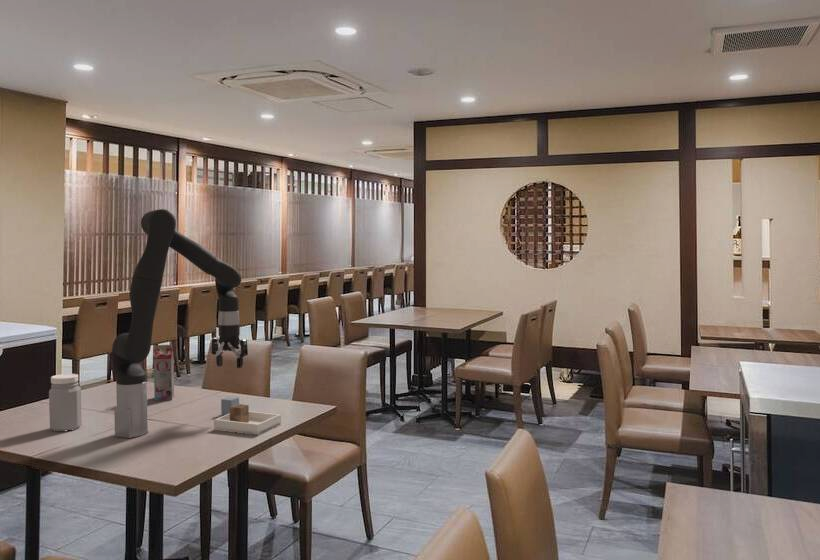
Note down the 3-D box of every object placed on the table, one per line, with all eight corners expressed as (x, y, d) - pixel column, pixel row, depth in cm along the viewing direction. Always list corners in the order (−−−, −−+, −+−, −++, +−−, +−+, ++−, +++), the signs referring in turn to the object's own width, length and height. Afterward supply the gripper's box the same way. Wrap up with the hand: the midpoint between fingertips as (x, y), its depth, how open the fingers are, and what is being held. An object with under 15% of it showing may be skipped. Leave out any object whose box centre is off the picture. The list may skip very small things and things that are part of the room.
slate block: (231, 416, 232) (231, 400, 232) (221, 415, 234) (221, 399, 233) (239, 413, 236) (238, 397, 236) (229, 412, 238) (228, 396, 237)
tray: (258, 435, 209) (258, 424, 208) (214, 429, 215) (213, 419, 215) (280, 424, 221) (280, 414, 221) (238, 419, 227) (238, 410, 227)
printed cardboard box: (172, 400, 257) (171, 345, 256) (154, 401, 255) (153, 346, 254) (174, 396, 263) (173, 343, 262) (157, 397, 262) (156, 344, 260)
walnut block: (229, 424, 218) (229, 407, 218) (237, 421, 222) (237, 404, 222) (241, 425, 216) (240, 408, 216) (248, 422, 221) (248, 405, 220)
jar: (65, 433, 210) (64, 379, 209) (42, 431, 213) (41, 377, 212) (88, 425, 220) (87, 374, 219) (66, 423, 223) (64, 372, 222)
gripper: (206, 323, 232) (207, 367, 233) (239, 325, 227) (239, 370, 228) (219, 321, 239) (220, 364, 240) (251, 322, 234) (252, 366, 235)
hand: (229, 367), depth 234 cm, fingers open, 8 cm apart
